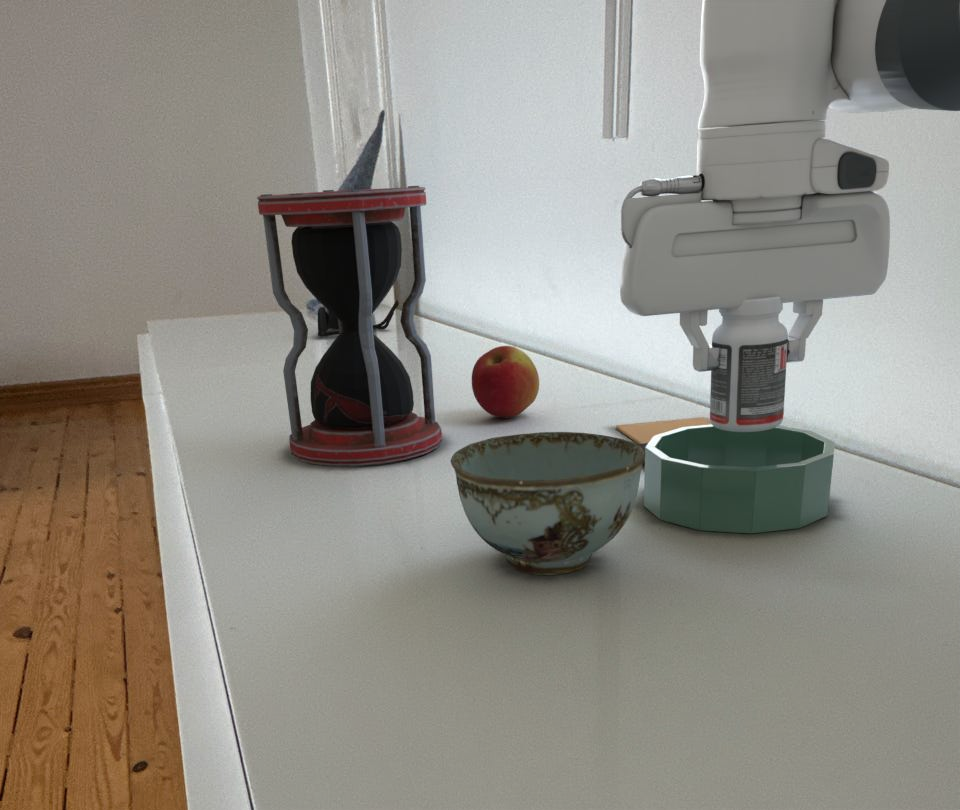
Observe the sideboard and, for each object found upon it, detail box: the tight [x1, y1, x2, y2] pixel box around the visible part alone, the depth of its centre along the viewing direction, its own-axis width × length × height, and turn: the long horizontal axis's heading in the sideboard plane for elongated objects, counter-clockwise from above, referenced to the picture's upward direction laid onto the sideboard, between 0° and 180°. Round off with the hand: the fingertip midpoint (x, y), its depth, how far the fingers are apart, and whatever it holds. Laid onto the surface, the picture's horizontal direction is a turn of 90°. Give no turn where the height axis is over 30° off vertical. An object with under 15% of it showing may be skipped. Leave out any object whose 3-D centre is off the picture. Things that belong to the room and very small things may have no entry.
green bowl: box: [643, 424, 836, 535], centre depth 82 cm, size 15×15×5 cm
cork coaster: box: [615, 417, 711, 444], centre depth 105 cm, size 10×10×1 cm
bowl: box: [450, 431, 646, 576], centre depth 71 cm, size 14×13×8 cm
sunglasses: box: [317, 299, 400, 337], centre depth 186 cm, size 17×14×5 cm
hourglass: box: [256, 185, 443, 467], centre depth 101 cm, size 16×16×25 cm
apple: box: [471, 345, 540, 419], centre depth 114 cm, size 8×8×8 cm
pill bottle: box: [709, 296, 789, 432], centre depth 78 cm, size 6×6×10 cm
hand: (748, 365), depth 78 cm, fingers closed on pill bottle, 6 cm apart
